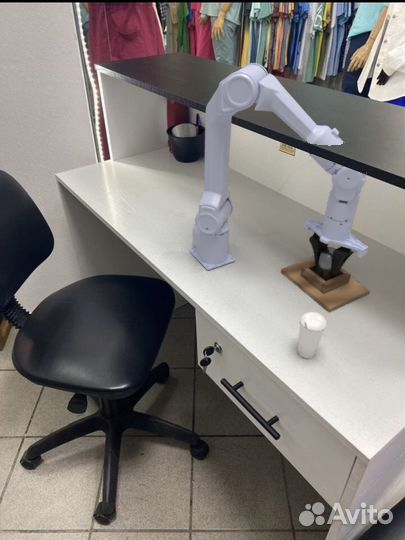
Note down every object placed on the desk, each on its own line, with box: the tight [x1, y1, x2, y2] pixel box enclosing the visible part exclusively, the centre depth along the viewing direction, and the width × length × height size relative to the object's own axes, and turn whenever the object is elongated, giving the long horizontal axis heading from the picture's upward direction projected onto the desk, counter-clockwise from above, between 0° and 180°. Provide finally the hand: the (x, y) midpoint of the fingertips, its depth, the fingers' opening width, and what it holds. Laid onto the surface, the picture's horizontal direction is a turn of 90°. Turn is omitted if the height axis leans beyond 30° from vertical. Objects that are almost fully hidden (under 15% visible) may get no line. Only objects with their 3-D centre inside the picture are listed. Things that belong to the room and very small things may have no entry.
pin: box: [316, 246, 337, 279], centre depth 86 cm, size 4×4×6 cm
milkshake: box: [297, 311, 328, 360], centre depth 70 cm, size 4×5×10 cm
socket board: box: [280, 256, 371, 313], centre depth 89 cm, size 16×12×4 cm
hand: (326, 268), depth 87 cm, fingers closed on pin, 4 cm apart
